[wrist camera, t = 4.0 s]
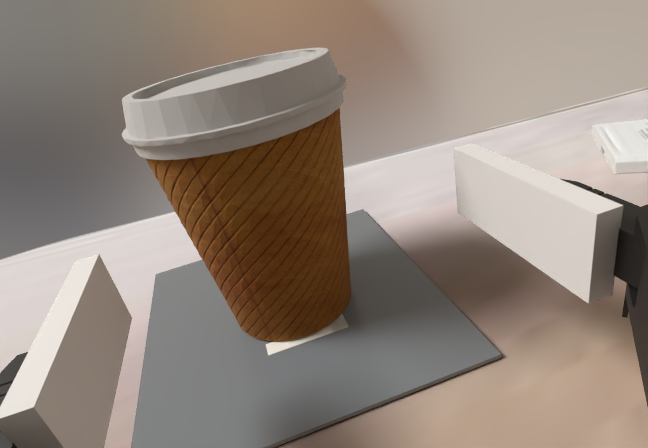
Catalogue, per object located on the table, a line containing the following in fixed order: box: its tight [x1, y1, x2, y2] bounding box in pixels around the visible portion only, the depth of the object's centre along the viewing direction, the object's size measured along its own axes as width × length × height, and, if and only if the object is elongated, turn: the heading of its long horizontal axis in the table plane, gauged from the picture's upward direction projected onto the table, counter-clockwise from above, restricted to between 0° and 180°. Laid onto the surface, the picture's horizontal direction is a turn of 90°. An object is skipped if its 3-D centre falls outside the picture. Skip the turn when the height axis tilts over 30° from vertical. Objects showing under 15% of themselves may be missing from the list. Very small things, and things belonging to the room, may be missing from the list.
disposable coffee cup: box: [122, 48, 351, 341], centre depth 21 cm, size 10×10×12 cm
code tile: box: [131, 209, 502, 448], centre depth 23 cm, size 15×16×1 cm
